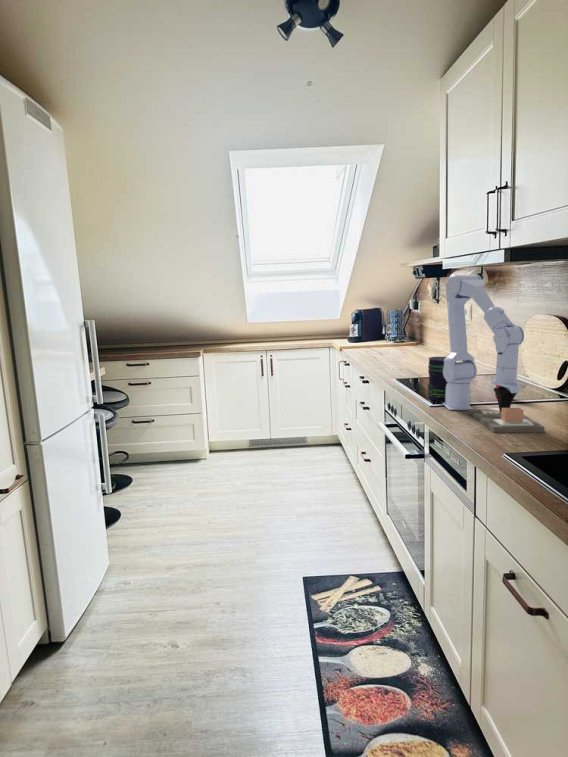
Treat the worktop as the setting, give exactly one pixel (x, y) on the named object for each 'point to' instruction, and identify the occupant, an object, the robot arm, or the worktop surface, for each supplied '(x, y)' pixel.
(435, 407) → the worktop surface
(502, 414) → the stub
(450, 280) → the robot arm
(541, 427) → the ticket board
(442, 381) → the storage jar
